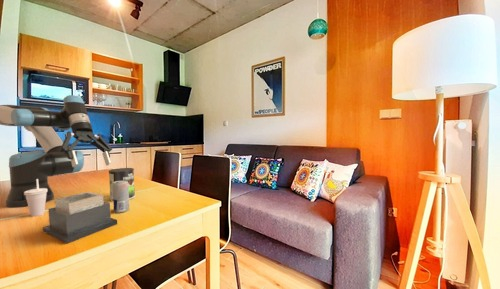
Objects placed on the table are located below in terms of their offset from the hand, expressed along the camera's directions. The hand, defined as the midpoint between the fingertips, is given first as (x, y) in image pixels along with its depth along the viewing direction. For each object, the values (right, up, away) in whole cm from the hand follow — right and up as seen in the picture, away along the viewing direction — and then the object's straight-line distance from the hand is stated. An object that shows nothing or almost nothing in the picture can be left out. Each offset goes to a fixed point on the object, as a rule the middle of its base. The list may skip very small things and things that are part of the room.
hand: (93, 164), depth 92 cm
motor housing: (+14, -19, -24) cm, 34 cm away
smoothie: (-12, -18, -12) cm, 25 cm away
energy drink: (+19, -18, -9) cm, 27 cm away
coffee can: (+9, -17, +7) cm, 21 cm away
